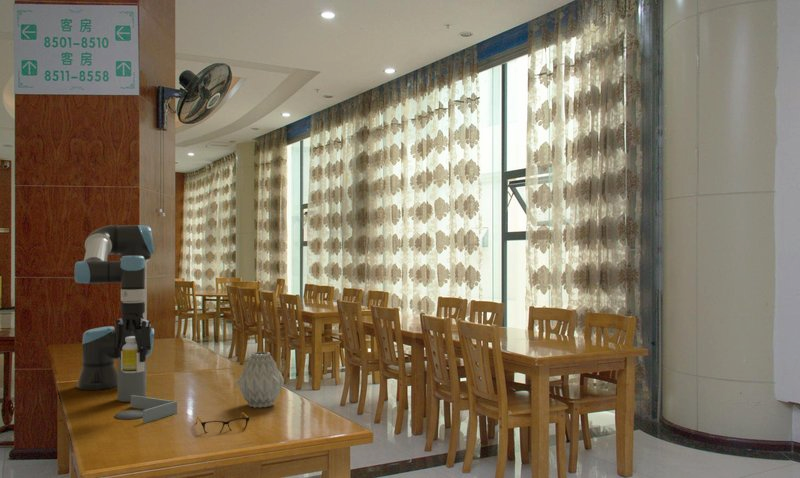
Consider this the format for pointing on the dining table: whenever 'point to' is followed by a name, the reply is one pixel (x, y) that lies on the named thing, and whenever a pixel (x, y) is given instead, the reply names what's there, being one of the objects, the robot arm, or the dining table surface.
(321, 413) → the dining table surface
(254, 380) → the vase
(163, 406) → the fence end
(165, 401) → the fence long
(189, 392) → the dining table surface
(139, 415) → the coaster
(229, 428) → the eyeglasses
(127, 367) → the pill bottle
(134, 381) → the water bottle
